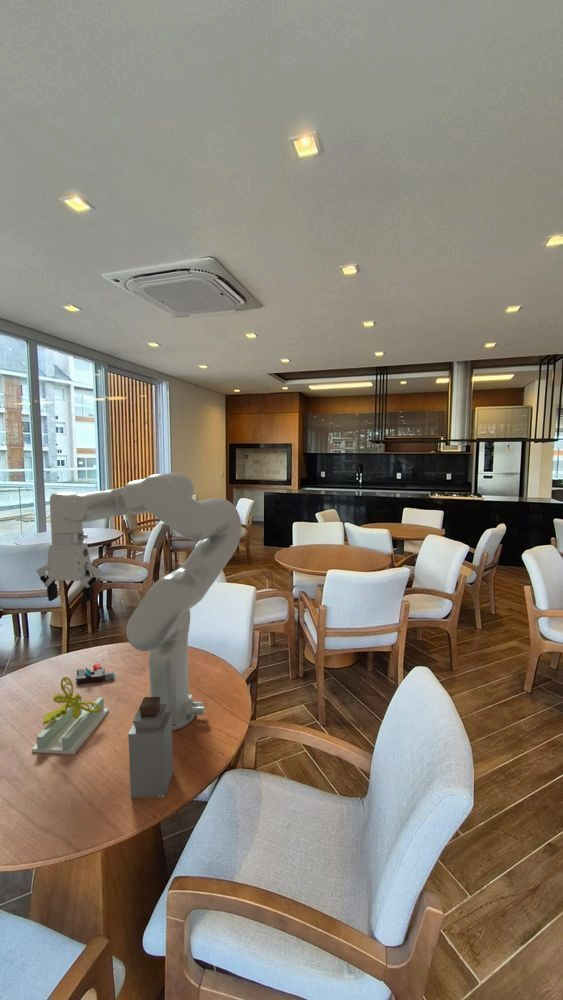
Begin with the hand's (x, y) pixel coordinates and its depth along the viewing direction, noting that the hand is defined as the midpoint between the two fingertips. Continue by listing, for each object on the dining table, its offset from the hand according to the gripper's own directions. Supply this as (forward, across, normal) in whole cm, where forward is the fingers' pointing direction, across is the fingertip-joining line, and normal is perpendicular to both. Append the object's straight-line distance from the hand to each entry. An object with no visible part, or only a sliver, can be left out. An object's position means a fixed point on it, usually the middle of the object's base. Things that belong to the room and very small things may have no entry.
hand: (70, 599), depth 113 cm
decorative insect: (+25, -7, +14) cm, 30 cm away
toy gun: (+29, -1, -12) cm, 31 cm away
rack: (+28, -7, +14) cm, 32 cm away
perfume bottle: (+28, -33, +30) cm, 52 cm away
